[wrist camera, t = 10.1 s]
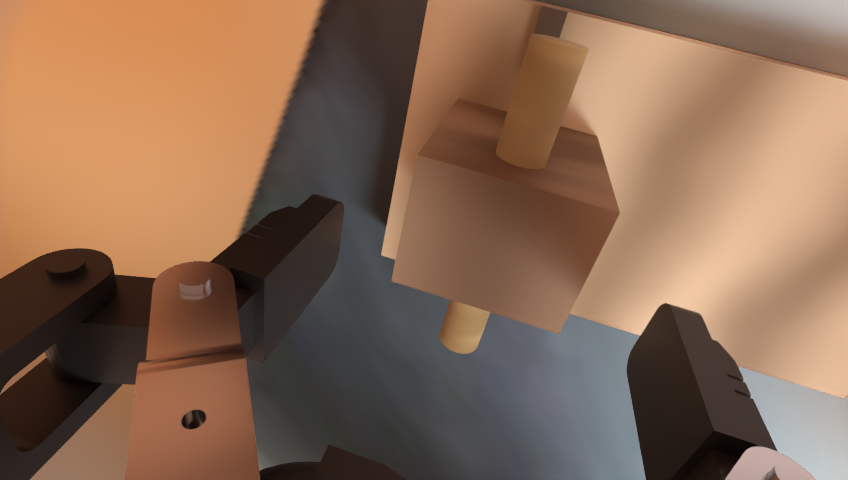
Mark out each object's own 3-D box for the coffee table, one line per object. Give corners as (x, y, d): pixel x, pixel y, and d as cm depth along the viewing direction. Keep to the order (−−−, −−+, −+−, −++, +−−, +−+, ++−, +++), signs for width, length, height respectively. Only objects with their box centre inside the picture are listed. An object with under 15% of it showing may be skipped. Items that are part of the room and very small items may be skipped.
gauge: (636, 44, 14) (684, 84, 9) (531, 290, 19) (525, 401, 14) (480, 5, 15) (444, 22, 10) (420, 256, 20) (376, 351, 15)
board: (1051, 128, 14) (1129, 151, 12) (819, 363, 20) (848, 404, 18) (444, -23, 16) (430, -22, 14) (393, 233, 22) (379, 258, 20)
